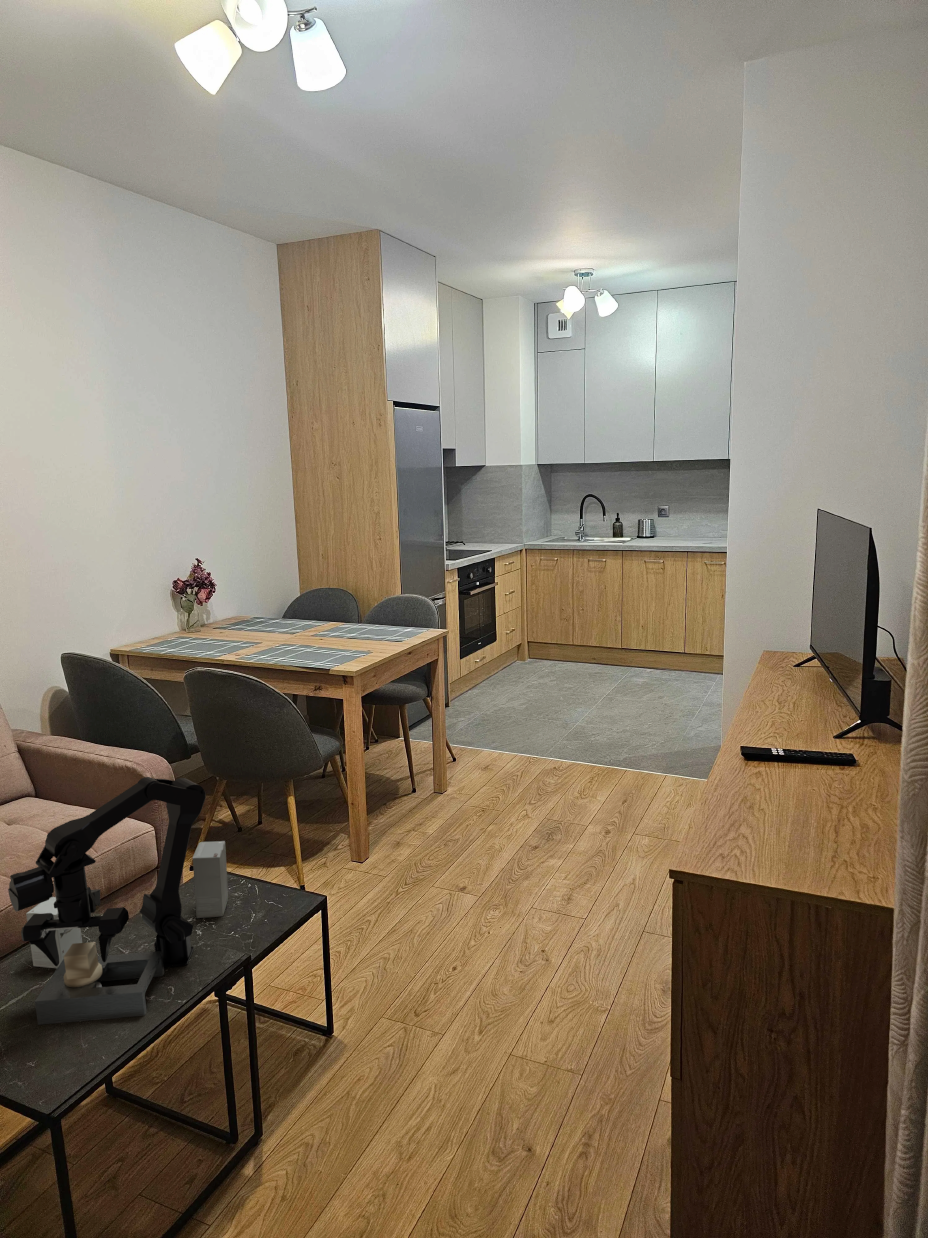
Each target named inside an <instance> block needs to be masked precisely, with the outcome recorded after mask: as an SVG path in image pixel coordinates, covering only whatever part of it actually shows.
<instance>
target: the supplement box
mask: <svg viewBox="0 0 928 1238" xmlns="http://www.w3.org/2000/svg"><path fill="white" fill-rule="evenodd" d="M55 901H56V896H52V897H51V898H49V900H47V901H45V902H42V903H39V904H36V905H35V906H33V908H32V909H30V910H29V911H28V912H26V913H25V916H26V922H27V921H28V920H29V919H30V918H31V917H32V916H33V914H44V913H52V914H53V916H54V920H55V919H59V917H58V910H57V908H54V902H55ZM55 938H56V943H57V948H58V954H59V965H60V963H61V962H62V961H63V959H64V955H65V954H66V953H67V951H68V950H69V948H70V947H71V945H72V944H76V943H83V938H82V928H74V929H61V930H56V933H55ZM29 945H30V949H31V950H30V952H31V958H32V964H33V965H32V966H33V967H38V968H39V967H40V968H48V969H49V968H50V969H57V968H58V966H59V965H58V966H55V965H54V964H53V963H52V962H51V961H50V960H49V958H48V957H47V956H46V955H45V954H44V953H43V952H42V951H41V950H40V949H39V948H38V947H37V946H35V945H34V944H32V945H31V944H30V943H29Z"/></svg>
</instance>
